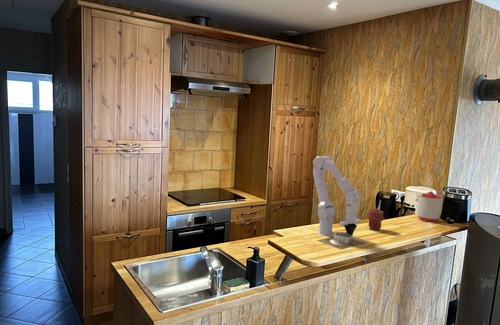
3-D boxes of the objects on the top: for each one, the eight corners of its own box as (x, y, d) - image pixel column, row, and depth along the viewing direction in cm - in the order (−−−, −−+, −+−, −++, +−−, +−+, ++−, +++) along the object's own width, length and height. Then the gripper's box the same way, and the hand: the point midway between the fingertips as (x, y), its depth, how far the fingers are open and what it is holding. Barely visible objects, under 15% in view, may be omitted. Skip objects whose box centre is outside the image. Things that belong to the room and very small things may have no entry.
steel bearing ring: (340, 238, 199) (341, 231, 199) (354, 242, 193) (355, 235, 192) (330, 241, 194) (330, 233, 193) (344, 245, 187) (345, 238, 186)
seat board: (346, 235, 208) (346, 234, 208) (370, 243, 195) (370, 242, 195) (316, 241, 194) (316, 240, 194) (340, 250, 181) (340, 249, 181)
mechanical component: (386, 231, 219) (372, 232, 217) (376, 226, 229) (362, 227, 226) (388, 211, 218) (373, 211, 215) (378, 207, 228) (364, 207, 225)
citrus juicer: (419, 215, 265) (422, 188, 263) (445, 221, 252) (448, 192, 249) (409, 218, 255) (411, 189, 253) (434, 224, 242) (437, 194, 240)
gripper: (348, 215, 188) (346, 241, 189) (366, 212, 197) (364, 237, 198) (337, 212, 194) (335, 237, 195) (355, 209, 202) (353, 234, 204)
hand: (349, 237), depth 197 cm, fingers closed
